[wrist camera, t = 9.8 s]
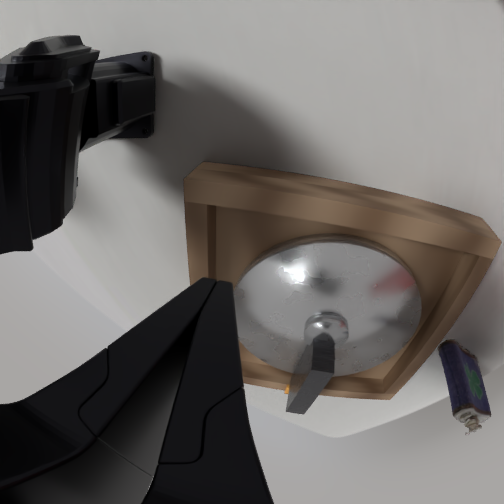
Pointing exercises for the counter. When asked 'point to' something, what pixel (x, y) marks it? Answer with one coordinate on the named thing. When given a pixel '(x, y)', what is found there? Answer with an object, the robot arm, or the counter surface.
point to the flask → (464, 385)
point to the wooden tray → (340, 222)
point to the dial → (325, 309)
